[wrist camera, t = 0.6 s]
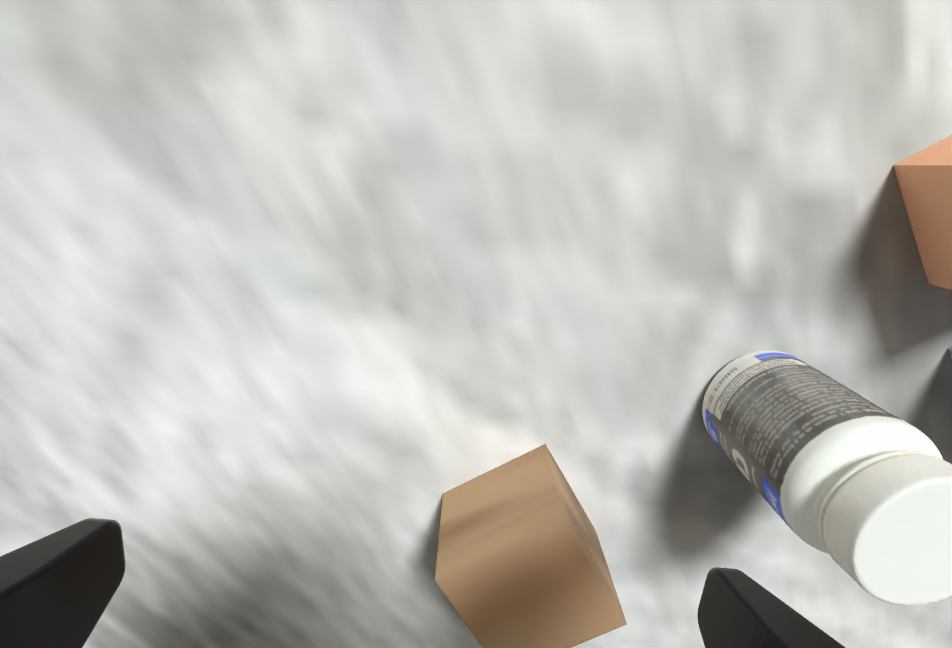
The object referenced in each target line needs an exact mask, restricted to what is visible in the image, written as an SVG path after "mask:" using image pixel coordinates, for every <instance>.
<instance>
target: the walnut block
mask: <svg viewBox="0 0 952 648" xmlns="http://www.w3.org/2000/svg"><path fill="white" fill-rule="evenodd" d="M435 582H436V583H437V584H438V586H439V587H440V589H441V590H442V591H443V593H444V594H445V596H446V597H447V598H448V600H449V601H450V603H451V604H452V605H453V607H454V608H455V610H456V611H457V612H458V614H459V615H460V617H461V618H462V619H463V621H464V622H465V624H466V625H467V626H468V628H469V629H470V631H471V632H472V633H473V635H474V636H475V638H476V639H477V640H478V642H479V643H480V644H481V646H482V647H483V648H571V647H573V646H576V645H578V644H581V643H583V642H585V641H588V640H590V639H593V638H595V637H597V636H600V635H602V634H605V633H607V632H609V631H612V630H614V629H616V628H619V627H621V626H624V625H626V624H627V623H626V620H625V617H624V614H623V611H622V608H621V605H620V602H619V599H618V596H617V593H616V590H615V587H614V584H613V581H612V578H611V575H610V572H609V569H608V566H607V563H606V560H605V557H604V554H603V551H602V548H601V545H600V542H599V539H598V536H597V533H596V530H595V529H594V527H593V525H592V523H591V522H590V520H589V518H588V517H587V515H586V513H585V511H584V510H583V508H582V506H581V505H580V503H579V501H578V499H577V498H576V496H575V494H574V492H573V491H572V489H571V487H570V486H569V484H568V482H567V480H566V479H565V477H564V475H563V474H562V472H561V470H560V468H559V467H558V465H557V463H556V462H555V460H554V458H553V456H552V455H551V453H550V451H549V449H548V448H547V446H546V444H544V445H542V446H540V447H538V448H536V449H534V450H532V451H530V452H528V453H526V454H524V455H522V456H520V457H517V458H515V459H513V460H511V461H509V462H507V463H505V464H503V465H501V466H499V467H497V468H495V469H493V470H491V471H489V472H486V473H484V474H482V475H480V476H478V477H476V478H474V479H472V480H470V481H468V482H466V483H464V484H462V485H460V486H457V487H455V488H453V489H451V490H449V491H447V492H445V493H443V498H442V509H441V519H440V530H439V540H438V551H437V561H436V572H435Z"/></svg>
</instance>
